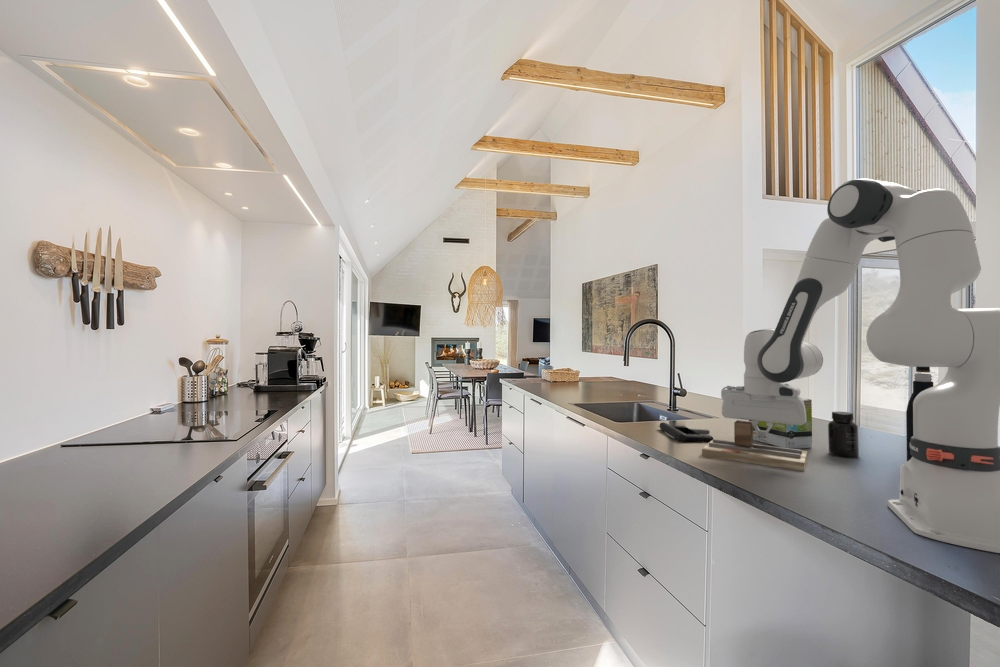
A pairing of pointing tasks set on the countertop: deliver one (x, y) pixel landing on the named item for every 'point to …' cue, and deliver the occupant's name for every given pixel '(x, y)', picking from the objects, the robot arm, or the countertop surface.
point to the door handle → (685, 433)
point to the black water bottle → (919, 385)
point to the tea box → (789, 432)
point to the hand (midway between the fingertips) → (762, 437)
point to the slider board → (757, 454)
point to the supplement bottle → (843, 435)
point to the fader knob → (743, 433)
